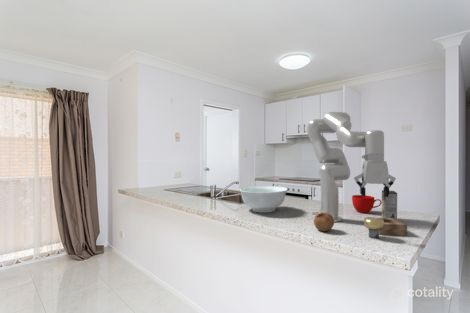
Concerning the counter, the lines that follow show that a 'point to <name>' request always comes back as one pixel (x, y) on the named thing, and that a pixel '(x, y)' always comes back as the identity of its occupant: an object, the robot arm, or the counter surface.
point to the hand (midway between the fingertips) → (374, 196)
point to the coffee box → (389, 205)
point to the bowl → (263, 197)
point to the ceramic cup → (364, 203)
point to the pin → (374, 226)
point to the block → (393, 227)
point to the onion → (323, 221)
